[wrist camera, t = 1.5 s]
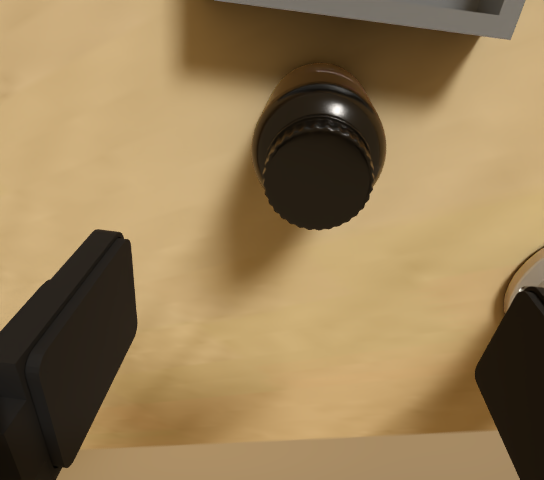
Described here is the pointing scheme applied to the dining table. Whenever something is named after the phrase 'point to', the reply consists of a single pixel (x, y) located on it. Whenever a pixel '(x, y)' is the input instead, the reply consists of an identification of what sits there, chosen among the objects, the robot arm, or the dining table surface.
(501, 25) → the tray
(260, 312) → the dining table surface
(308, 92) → the supplement bottle
